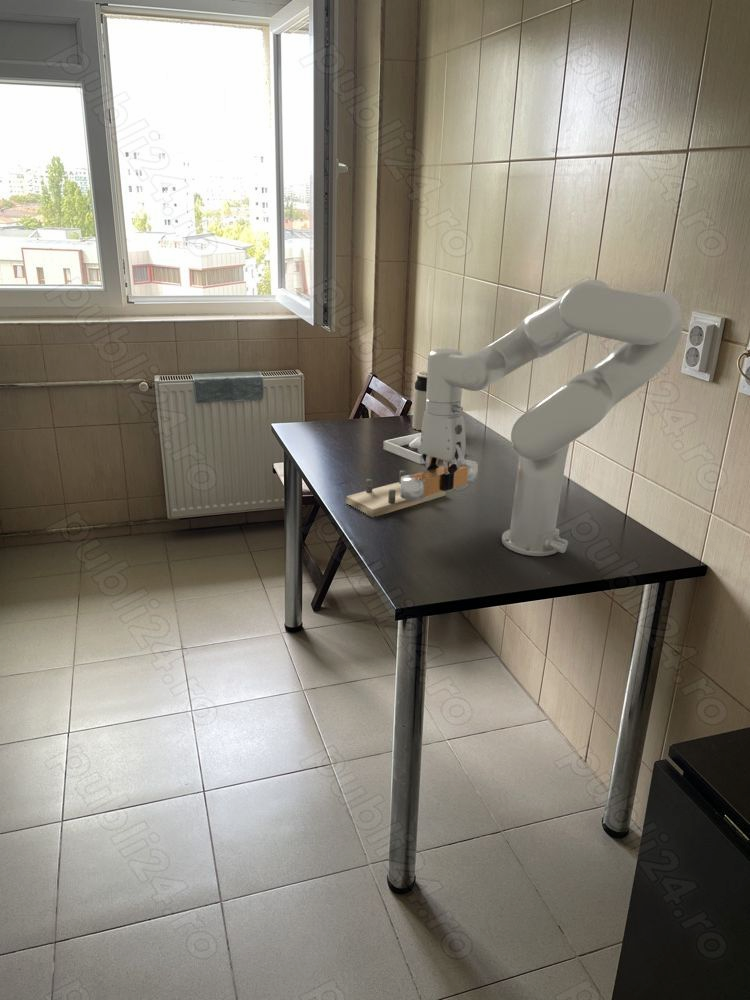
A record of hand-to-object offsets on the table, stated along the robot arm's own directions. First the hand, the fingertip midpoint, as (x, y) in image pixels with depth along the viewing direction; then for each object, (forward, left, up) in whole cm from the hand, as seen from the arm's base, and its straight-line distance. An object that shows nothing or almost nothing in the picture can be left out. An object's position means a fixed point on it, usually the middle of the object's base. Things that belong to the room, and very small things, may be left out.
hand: (439, 485), depth 165 cm
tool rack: (+16, -2, -9) cm, 18 cm away
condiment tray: (+40, -34, -9) cm, 53 cm away
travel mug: (+57, -51, -9) cm, 77 cm away
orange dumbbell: (0, 0, 0) cm, 0 cm away
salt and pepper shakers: (+40, -36, -10) cm, 55 cm away
